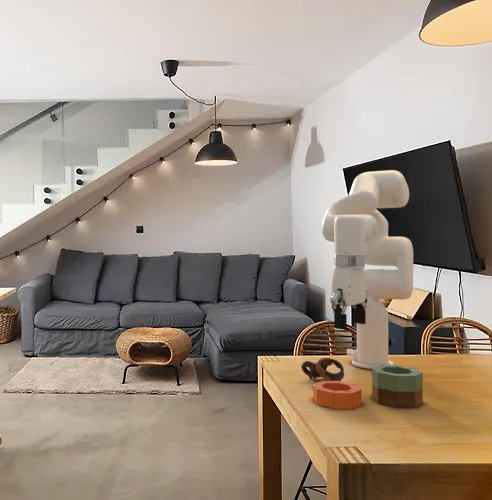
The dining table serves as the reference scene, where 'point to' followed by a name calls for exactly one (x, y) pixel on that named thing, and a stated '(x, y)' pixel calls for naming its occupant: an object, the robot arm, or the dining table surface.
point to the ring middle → (397, 378)
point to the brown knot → (323, 369)
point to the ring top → (337, 394)
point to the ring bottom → (397, 397)
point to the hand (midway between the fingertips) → (350, 326)
